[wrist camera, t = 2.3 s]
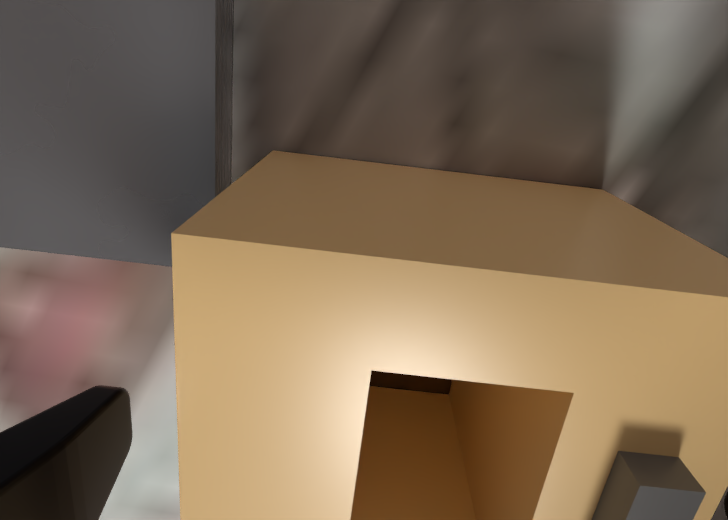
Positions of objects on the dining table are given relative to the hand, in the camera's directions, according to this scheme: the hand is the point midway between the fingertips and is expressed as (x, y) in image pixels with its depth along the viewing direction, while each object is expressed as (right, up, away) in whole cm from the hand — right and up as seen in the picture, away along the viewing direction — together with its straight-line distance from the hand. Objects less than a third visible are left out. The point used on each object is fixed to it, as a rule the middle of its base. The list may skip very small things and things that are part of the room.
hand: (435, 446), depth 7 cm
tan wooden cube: (0, +1, +3) cm, 4 cm away
